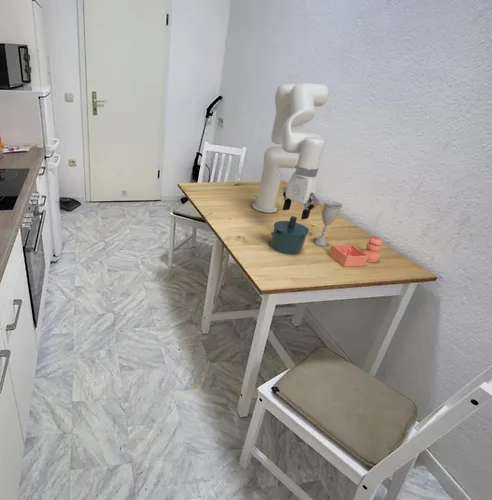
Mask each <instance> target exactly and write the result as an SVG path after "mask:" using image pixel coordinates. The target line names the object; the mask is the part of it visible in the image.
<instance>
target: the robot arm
mask: <svg viewBox="0 0 492 500" xmlns="http://www.w3.org/2000/svg"><path fill="white" fill-rule="evenodd" d="M329 91H330V90H329V88H328V86H327V85H326V84H325V83H315V82H300V83H299V82H298V83H282V84H280V85H279V86H278V87H277V88H276V91H275V95H274V102H275V103H274V106H275V115H274V116H275V117H274V121H273V126H272V129H271V138H270V139H271V142H272V144H276V145H281V146H270V147H268V148H266V149H265V151H264V154H263V167H262V173H261V179H260V183H259V186H258V187H259V188H258V192H257V195H255V196H253V197H252V200H253V201H254V202H253V203H252V205H251V206H252V209H254V210H255V211H258V212H261V213H266V214H267V213H269V214H270V213H276V212H277V211H278V206H277V205H276V204H277V199H278V194H279V191H280V187H281V183H282V173H281V171H280V170H279V169H295V172H293V173H292V175H291V176H290V179H289V181H288V184H287V186H283V187H282V197H283V200H284V202H283V206H282V211H290V209H291V205H292V201H293V202H296V203H298V204H301V205H303V207H304V209H303V210H302V212H301V217H300V219H301V220H307V219H309V217H310V214H311V210H313V209H315V208H316V207H317V206H318V204H319V203H320V201H319V199H318V198H317V197H316V195H315V194H316V189H317V183H318V177H317V175H318V171H319V169H320V168H319V166H320V164H321V161H322V156H323V154H324V150H325V146H326V140H325V139H324V138H322V136H321V135H320V134H317V133H309V131H308V127H307V126H306V125H305V124H308V123H309V122H311V121H312V120H313V119H314V118H315V116H316V107H323V106H324V105H325V104H327V102H328V99H329V93H330V92H329Z"/></svg>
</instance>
